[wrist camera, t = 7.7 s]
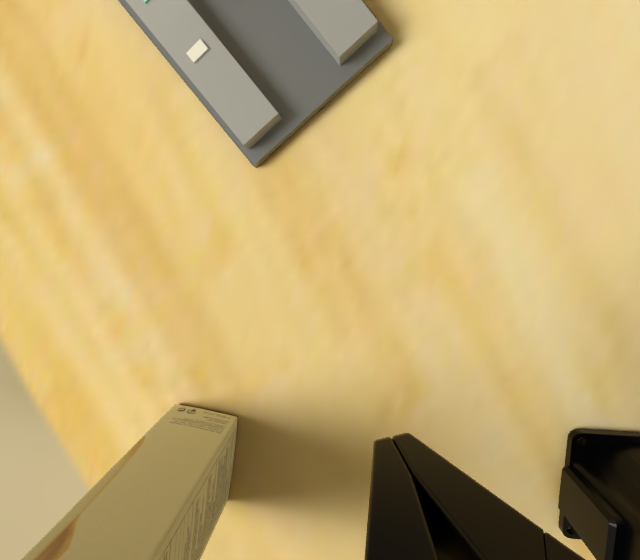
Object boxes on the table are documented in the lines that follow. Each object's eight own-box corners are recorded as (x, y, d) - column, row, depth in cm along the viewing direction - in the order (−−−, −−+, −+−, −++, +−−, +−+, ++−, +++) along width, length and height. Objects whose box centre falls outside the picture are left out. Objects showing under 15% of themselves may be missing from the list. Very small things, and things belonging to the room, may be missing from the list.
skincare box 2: (174, 401, 23) (-25, 586, 11) (240, 414, 23) (111, 621, 11) (164, 491, 24) (-29, 754, 12) (228, 505, 24) (96, 791, 12)
